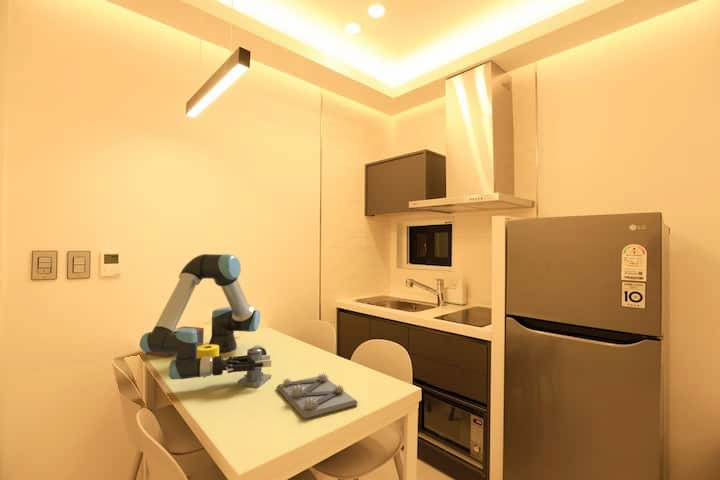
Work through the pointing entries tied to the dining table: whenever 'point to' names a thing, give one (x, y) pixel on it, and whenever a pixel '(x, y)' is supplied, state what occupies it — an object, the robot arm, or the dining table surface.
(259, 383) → the square metal stand
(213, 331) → the robot arm
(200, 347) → the tape roll
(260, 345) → the ceramic mug
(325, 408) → the decorative plate
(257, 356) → the trash can
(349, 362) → the dining table surface
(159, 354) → the tissue box cover
